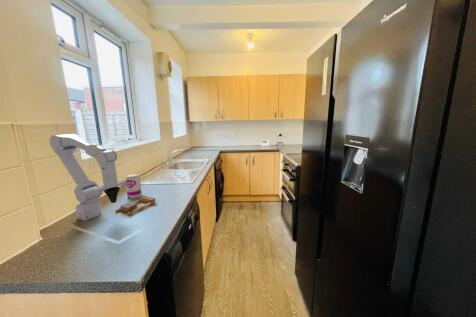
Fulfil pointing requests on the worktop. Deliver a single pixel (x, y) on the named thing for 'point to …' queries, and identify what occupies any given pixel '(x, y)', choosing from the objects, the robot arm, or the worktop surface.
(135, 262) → the worktop surface
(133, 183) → the supplement can
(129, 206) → the block
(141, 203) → the guide channel
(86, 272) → the worktop surface
